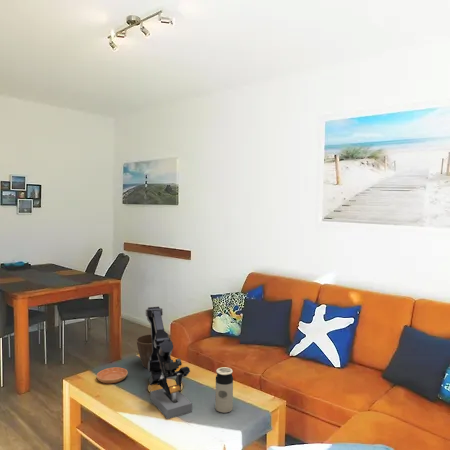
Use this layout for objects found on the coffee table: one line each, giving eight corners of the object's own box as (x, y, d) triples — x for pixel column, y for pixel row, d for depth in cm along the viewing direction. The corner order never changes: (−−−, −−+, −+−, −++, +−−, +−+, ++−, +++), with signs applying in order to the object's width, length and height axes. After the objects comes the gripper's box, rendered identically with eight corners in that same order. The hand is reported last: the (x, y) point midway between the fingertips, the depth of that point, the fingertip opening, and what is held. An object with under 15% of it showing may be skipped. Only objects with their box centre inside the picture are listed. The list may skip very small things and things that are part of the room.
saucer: (90, 382, 208) (90, 376, 208) (108, 370, 223) (108, 365, 223) (116, 387, 203) (116, 381, 203) (133, 375, 218) (133, 369, 218)
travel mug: (220, 402, 188) (220, 365, 187) (235, 406, 185) (236, 368, 184) (212, 410, 181) (212, 372, 180) (228, 414, 178) (228, 375, 177)
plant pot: (151, 373, 219) (151, 345, 218) (130, 367, 226) (130, 340, 225) (168, 364, 232) (168, 337, 231) (148, 358, 239) (148, 332, 238)
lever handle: (167, 405, 182) (167, 385, 182) (177, 403, 185) (177, 383, 184) (170, 409, 180) (170, 388, 179) (180, 406, 182) (180, 385, 182)
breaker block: (150, 399, 191) (150, 391, 190) (173, 393, 197) (173, 385, 197) (167, 419, 174) (167, 409, 173) (191, 411, 180) (191, 402, 180)
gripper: (151, 357, 179) (160, 391, 170) (188, 349, 189) (199, 381, 180) (145, 368, 186) (153, 401, 178) (181, 360, 196) (191, 391, 187)
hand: (175, 393), depth 181 cm, fingers closed on lever handle, 5 cm apart
